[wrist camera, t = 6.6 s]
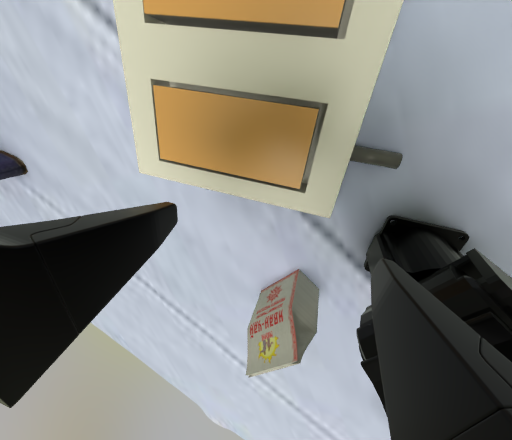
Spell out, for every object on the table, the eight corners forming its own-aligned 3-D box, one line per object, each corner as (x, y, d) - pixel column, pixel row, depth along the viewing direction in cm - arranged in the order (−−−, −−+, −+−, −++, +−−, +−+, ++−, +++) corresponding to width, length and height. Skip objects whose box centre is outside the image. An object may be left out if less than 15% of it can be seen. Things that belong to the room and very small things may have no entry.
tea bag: (319, 289, 26) (314, 375, 18) (280, 308, 30) (260, 388, 22) (298, 269, 26) (283, 348, 18) (261, 290, 29) (234, 365, 21)
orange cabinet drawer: (320, 108, 17) (318, 109, 15) (303, 179, 20) (299, 189, 17) (173, 87, 19) (153, 84, 17) (177, 152, 22) (160, 158, 20)
